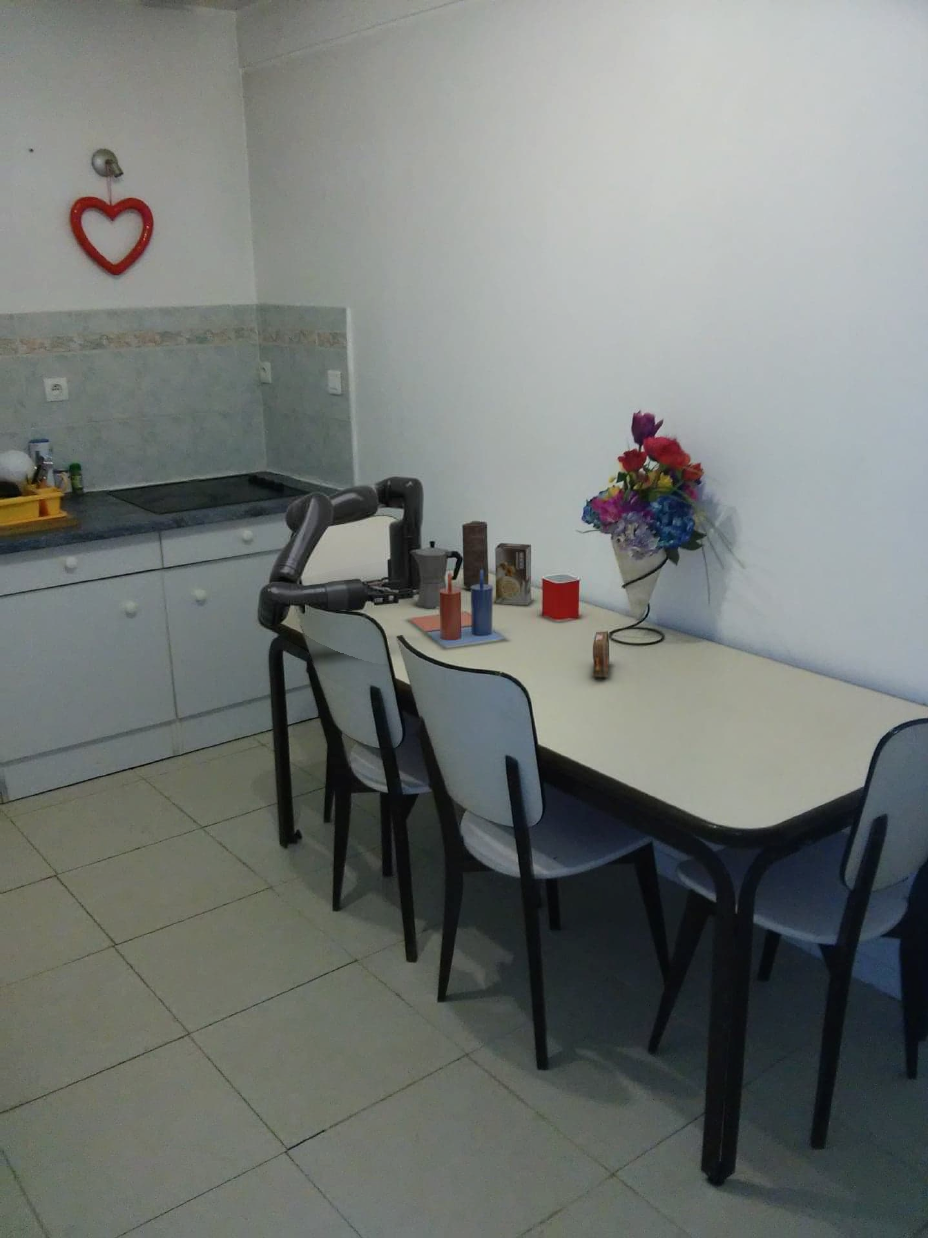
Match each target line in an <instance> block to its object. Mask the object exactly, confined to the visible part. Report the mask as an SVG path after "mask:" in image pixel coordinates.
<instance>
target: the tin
mask: <svg viewBox="0 0 928 1238" xmlns="http://www.w3.org/2000/svg"><path fill="white" fill-rule="evenodd" d="M609 638H610V637H609V631H608V630H606V631H596V632H595V635H594V639H593V643H592V659H593V677H594V678H604V679H605V678H607V677H608V671H609V667H610V639H609Z"/></svg>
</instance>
